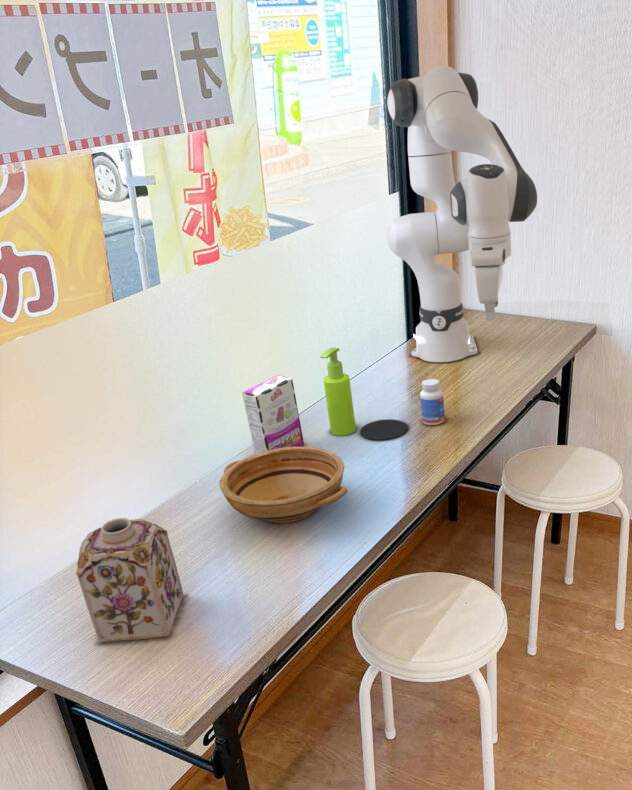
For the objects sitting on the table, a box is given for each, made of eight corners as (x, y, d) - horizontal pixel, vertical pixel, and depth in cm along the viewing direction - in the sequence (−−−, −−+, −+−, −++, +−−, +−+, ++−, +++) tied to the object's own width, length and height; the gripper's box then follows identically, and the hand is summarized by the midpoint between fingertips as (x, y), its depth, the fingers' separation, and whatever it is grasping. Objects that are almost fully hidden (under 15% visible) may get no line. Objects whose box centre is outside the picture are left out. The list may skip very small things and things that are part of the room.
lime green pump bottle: (323, 435, 199) (311, 353, 189) (339, 423, 204) (328, 343, 194) (345, 438, 196) (333, 356, 186) (360, 426, 201) (350, 345, 192)
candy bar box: (289, 440, 198) (277, 374, 190) (304, 445, 195) (293, 377, 187) (254, 460, 190) (240, 391, 182) (269, 464, 187) (256, 395, 180)
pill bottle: (445, 424, 198) (442, 385, 193) (422, 426, 198) (418, 387, 194) (444, 415, 203) (442, 376, 198) (422, 417, 203) (419, 378, 198)
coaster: (365, 421, 204) (365, 419, 204) (410, 420, 202) (410, 419, 202) (356, 441, 194) (355, 439, 194) (403, 440, 192) (403, 438, 192)
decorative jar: (186, 595, 145) (161, 503, 137) (171, 637, 135) (144, 541, 126) (116, 601, 145) (88, 510, 137) (96, 644, 135) (64, 548, 126)
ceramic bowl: (192, 519, 168) (183, 484, 165) (274, 468, 185) (268, 435, 182) (305, 556, 153) (298, 518, 149) (384, 497, 170) (380, 461, 166)
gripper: (479, 238, 189) (482, 299, 195) (470, 260, 171) (473, 327, 178) (507, 236, 188) (509, 298, 194) (501, 258, 170) (504, 326, 176)
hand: (492, 312), depth 186 cm, fingers open, 8 cm apart
